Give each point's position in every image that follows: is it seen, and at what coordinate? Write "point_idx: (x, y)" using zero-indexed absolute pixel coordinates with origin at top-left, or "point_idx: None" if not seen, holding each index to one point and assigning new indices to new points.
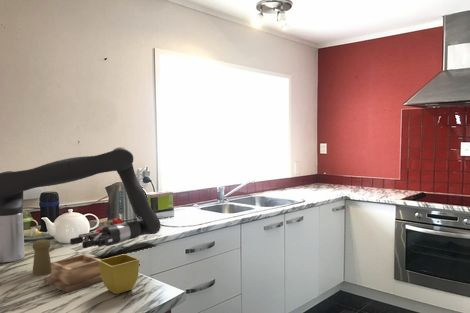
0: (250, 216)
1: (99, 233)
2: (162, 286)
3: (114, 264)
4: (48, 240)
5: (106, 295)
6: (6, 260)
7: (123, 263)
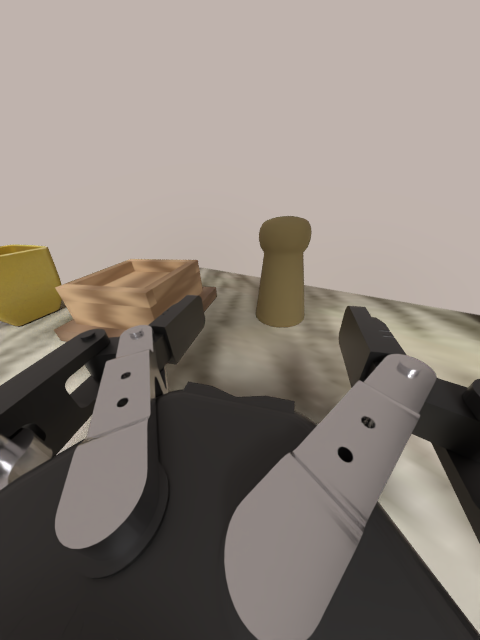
0: None
1: (142, 473)
2: None
3: (11, 274)
4: (274, 225)
5: (62, 302)
6: None
7: None
